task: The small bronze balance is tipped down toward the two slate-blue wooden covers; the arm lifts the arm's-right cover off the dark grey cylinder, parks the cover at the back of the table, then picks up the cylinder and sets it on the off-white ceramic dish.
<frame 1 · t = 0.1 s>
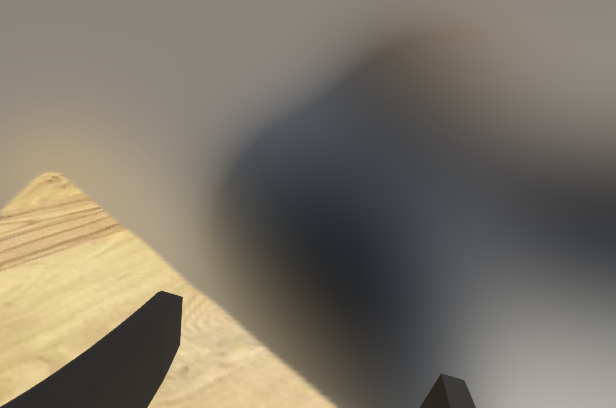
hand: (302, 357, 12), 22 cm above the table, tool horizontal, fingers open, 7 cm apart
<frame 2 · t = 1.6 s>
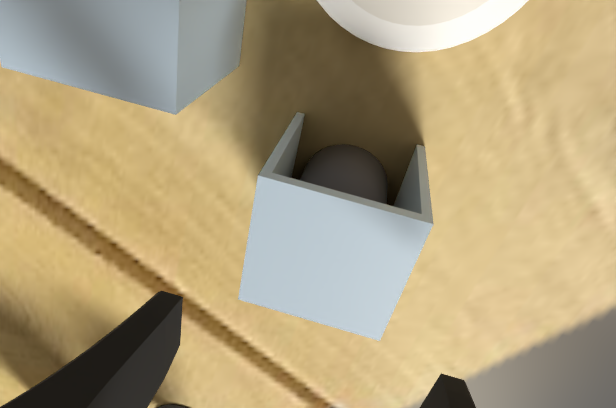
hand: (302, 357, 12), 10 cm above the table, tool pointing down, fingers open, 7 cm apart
dark grey cylinder: (344, 183, 20), on the table
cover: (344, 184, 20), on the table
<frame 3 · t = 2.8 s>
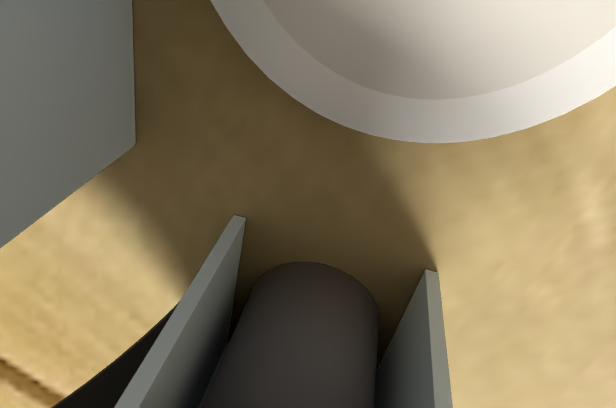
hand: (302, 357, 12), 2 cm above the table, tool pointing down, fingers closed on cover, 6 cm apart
dark grey cylinder: (313, 313, 13), on the table
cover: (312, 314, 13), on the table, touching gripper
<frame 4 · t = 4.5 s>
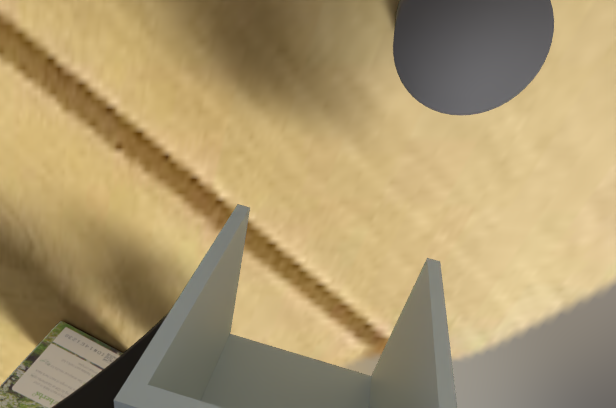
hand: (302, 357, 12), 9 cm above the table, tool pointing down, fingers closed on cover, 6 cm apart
dark grey cylinder: (453, 17, 15), on the table
syrup box: (91, 354, 31), on the table
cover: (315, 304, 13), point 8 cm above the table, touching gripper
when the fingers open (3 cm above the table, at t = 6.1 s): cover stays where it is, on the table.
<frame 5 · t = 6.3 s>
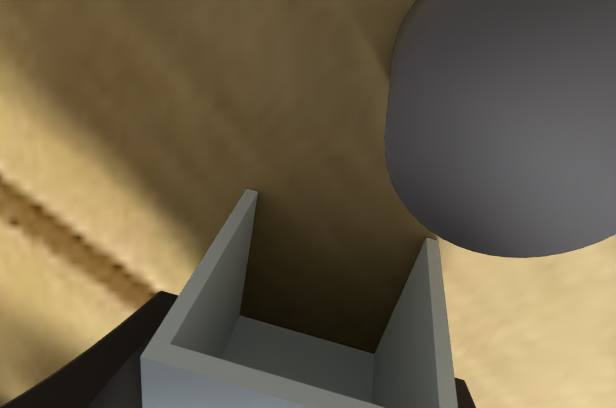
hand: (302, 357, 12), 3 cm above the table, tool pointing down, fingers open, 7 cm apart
dark grey cylinder: (483, 61, 9), on the table
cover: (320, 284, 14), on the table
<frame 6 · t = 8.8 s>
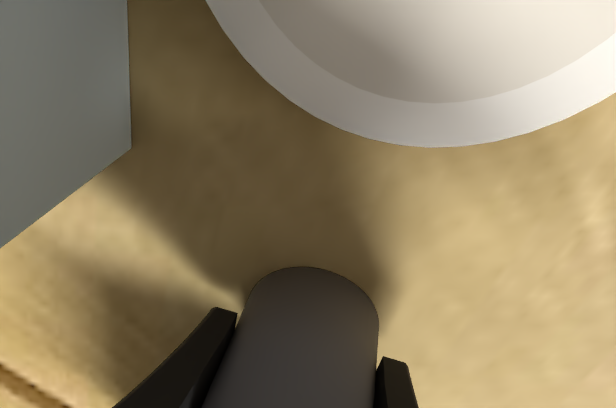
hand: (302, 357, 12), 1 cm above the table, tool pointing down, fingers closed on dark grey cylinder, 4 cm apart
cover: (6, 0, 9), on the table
dark grey cylinder: (311, 318, 13), on the table, touching gripper
when the fingers open (4 cm above the table, at t = 11.7 s): dark grey cylinder stays where it is, resting on dish.
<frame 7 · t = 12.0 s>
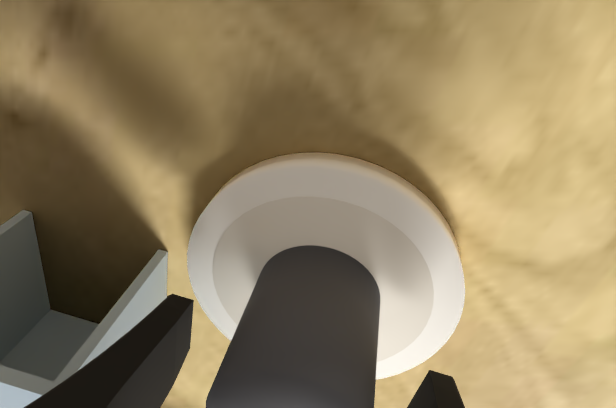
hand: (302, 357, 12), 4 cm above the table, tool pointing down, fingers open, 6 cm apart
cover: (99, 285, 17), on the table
dark grey cylinder: (318, 295, 14), point 1 cm above the table, touching dish
dish: (323, 272, 15), on the table
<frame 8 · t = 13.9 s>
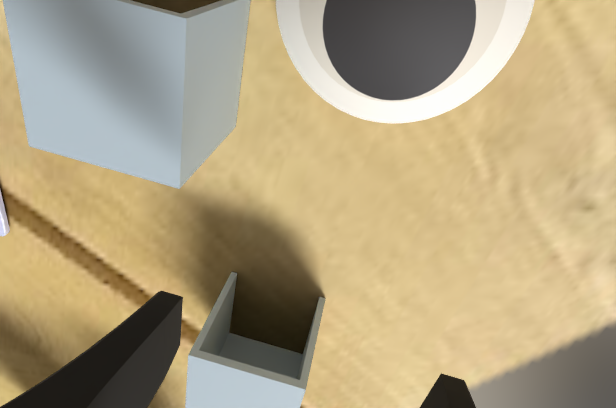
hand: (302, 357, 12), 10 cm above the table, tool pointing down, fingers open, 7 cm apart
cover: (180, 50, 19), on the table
dark grey cylinder: (398, 5, 15), point 1 cm above the table, touching dish
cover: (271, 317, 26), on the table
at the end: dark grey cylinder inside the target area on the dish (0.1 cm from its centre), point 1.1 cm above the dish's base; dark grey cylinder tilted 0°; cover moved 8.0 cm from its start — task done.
